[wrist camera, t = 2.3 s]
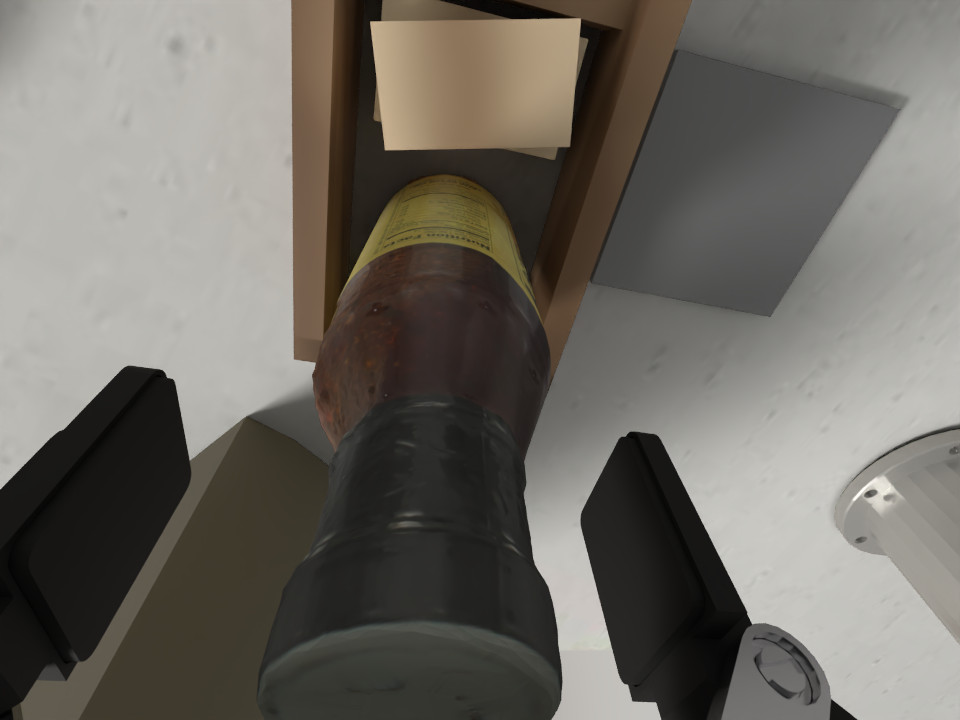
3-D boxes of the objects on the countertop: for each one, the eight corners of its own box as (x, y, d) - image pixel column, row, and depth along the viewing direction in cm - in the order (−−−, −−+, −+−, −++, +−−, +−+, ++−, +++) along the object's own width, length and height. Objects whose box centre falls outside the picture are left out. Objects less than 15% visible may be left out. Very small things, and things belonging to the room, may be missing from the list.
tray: (642, 0, 18) (695, -9, 14) (532, 340, 26) (545, 397, 22) (334, -86, 16) (290, -127, 12) (322, 305, 25) (293, 359, 21)
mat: (889, 107, 20) (900, 109, 20) (764, 311, 26) (770, 316, 25) (673, 49, 19) (678, 49, 18) (589, 277, 24) (591, 283, 24)
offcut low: (572, 38, 19) (588, 38, 16) (544, 145, 21) (554, 160, 19) (394, -8, 18) (383, -15, 15) (384, 109, 20) (373, 119, 18)
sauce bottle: (478, 309, 25) (505, 819, 9) (363, 264, 24) (137, 785, 7) (537, 193, 22) (754, 666, 6) (408, 132, 20) (177, 542, 4)
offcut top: (563, 20, 16) (581, 18, 14) (555, 131, 18) (569, 146, 16) (385, 23, 16) (369, 21, 14) (396, 134, 18) (385, 150, 15)
